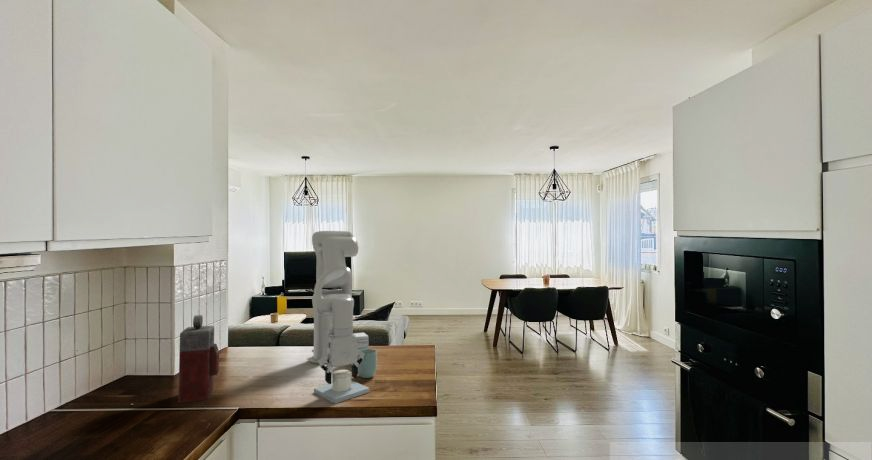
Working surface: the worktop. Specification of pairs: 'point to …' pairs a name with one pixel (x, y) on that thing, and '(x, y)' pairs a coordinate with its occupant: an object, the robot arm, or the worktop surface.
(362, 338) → the supplement box
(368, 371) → the cup
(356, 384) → the stud plate
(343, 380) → the cap
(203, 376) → the red grey canister
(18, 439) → the worktop surface
